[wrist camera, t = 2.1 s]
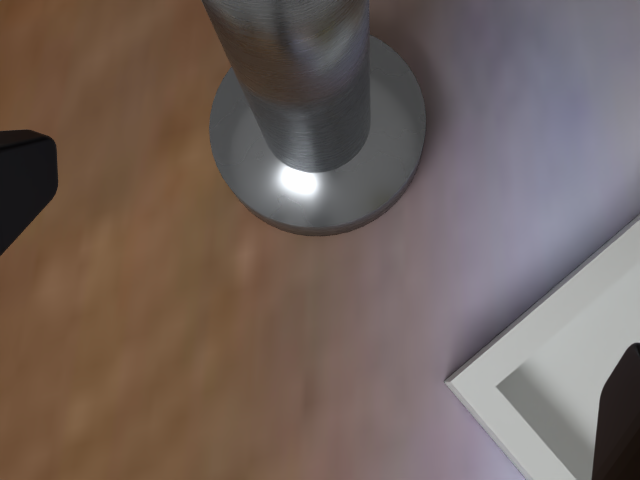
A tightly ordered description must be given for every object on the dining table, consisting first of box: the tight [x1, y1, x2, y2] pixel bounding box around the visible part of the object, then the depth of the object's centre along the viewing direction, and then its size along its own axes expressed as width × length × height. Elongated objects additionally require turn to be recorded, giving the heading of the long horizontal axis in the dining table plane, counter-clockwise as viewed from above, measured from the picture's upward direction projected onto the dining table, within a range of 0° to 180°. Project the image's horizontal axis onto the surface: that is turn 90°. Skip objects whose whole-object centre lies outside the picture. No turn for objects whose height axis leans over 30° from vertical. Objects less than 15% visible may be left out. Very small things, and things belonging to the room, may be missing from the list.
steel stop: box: [202, 0, 426, 236], centre depth 18 cm, size 8×8×14 cm
